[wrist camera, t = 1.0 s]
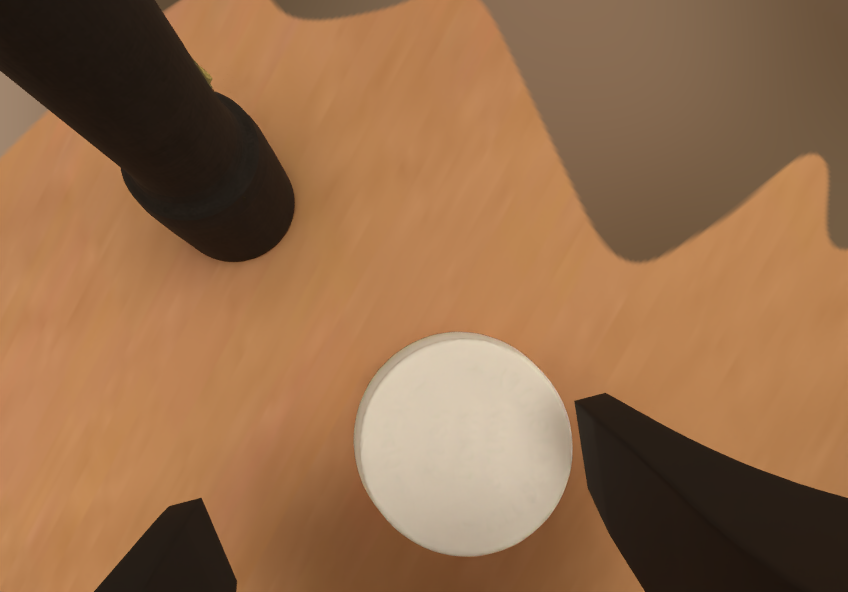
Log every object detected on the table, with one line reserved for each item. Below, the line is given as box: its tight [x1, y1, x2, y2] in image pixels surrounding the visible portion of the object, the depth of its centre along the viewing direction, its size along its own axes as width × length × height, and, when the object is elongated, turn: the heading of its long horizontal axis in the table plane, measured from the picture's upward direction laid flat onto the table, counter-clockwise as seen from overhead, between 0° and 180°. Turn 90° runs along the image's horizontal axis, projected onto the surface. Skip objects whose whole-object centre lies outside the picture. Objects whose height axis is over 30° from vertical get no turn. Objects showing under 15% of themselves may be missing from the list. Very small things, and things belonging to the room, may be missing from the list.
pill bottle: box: [354, 332, 572, 557], centre depth 21 cm, size 6×6×11 cm
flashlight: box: [0, 0, 294, 262], centre depth 16 cm, size 5×24×5 cm
